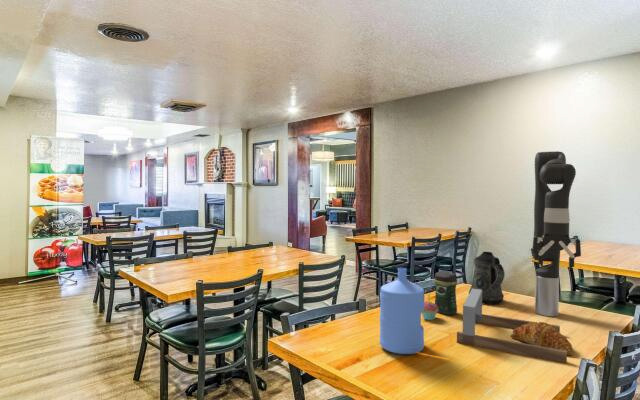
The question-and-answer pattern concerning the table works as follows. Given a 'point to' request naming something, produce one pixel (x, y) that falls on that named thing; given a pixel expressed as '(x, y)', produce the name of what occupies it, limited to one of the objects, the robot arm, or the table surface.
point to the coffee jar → (446, 293)
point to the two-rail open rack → (474, 314)
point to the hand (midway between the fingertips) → (555, 267)
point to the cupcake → (429, 309)
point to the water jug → (401, 316)
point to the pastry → (542, 336)
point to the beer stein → (488, 278)
